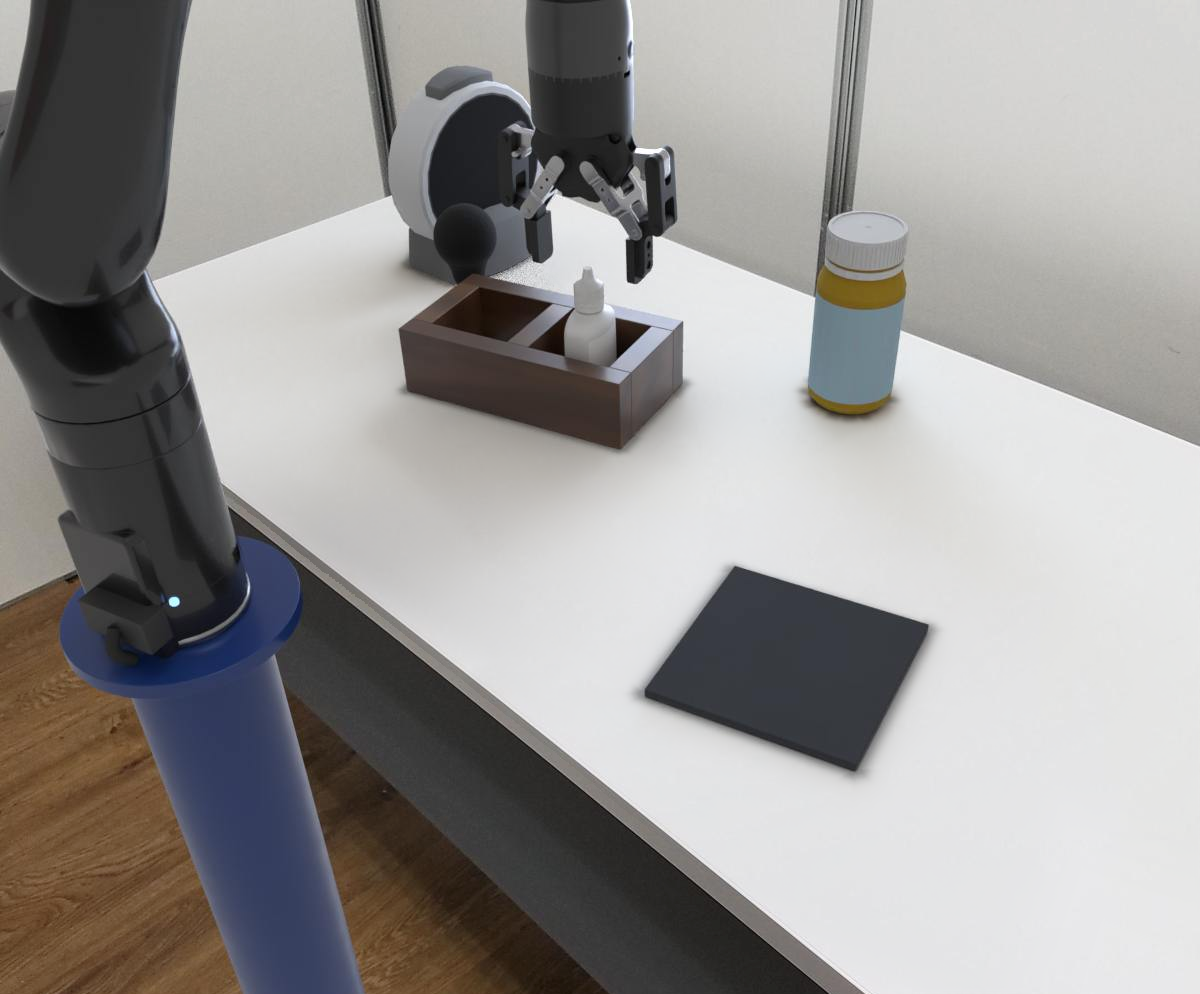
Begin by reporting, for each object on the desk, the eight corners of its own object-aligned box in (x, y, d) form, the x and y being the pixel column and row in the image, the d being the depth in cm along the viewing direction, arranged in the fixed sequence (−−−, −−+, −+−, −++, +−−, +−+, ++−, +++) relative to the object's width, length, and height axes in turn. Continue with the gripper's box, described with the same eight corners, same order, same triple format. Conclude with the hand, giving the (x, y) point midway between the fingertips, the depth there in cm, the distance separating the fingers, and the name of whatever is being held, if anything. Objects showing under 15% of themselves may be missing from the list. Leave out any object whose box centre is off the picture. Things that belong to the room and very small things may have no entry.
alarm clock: (449, 295, 123) (427, 105, 111) (383, 266, 128) (356, 81, 117) (566, 241, 132) (557, 59, 120) (500, 215, 137) (485, 39, 125)
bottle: (848, 366, 110) (867, 200, 101) (908, 398, 106) (933, 228, 96) (789, 392, 107) (803, 224, 98) (848, 427, 103) (868, 254, 93)
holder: (620, 449, 101) (619, 384, 97) (407, 390, 109) (397, 328, 106) (682, 383, 109) (683, 320, 105) (478, 333, 117) (472, 272, 113)
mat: (855, 771, 74) (856, 764, 74) (644, 696, 80) (644, 689, 79) (927, 630, 84) (929, 624, 83) (734, 571, 89) (734, 565, 89)
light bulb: (456, 289, 124) (445, 190, 118) (511, 296, 123) (503, 196, 116) (431, 316, 120) (419, 215, 113) (489, 324, 118) (479, 222, 112)
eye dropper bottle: (634, 399, 107) (632, 268, 99) (579, 421, 105) (573, 288, 97) (605, 378, 110) (601, 249, 102) (551, 399, 108) (543, 268, 100)
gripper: (467, 60, 89) (488, 272, 100) (645, 86, 84) (648, 307, 94) (522, 30, 94) (536, 235, 105) (694, 52, 89) (691, 267, 99)
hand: (589, 269), depth 100 cm, fingers open, 8 cm apart
